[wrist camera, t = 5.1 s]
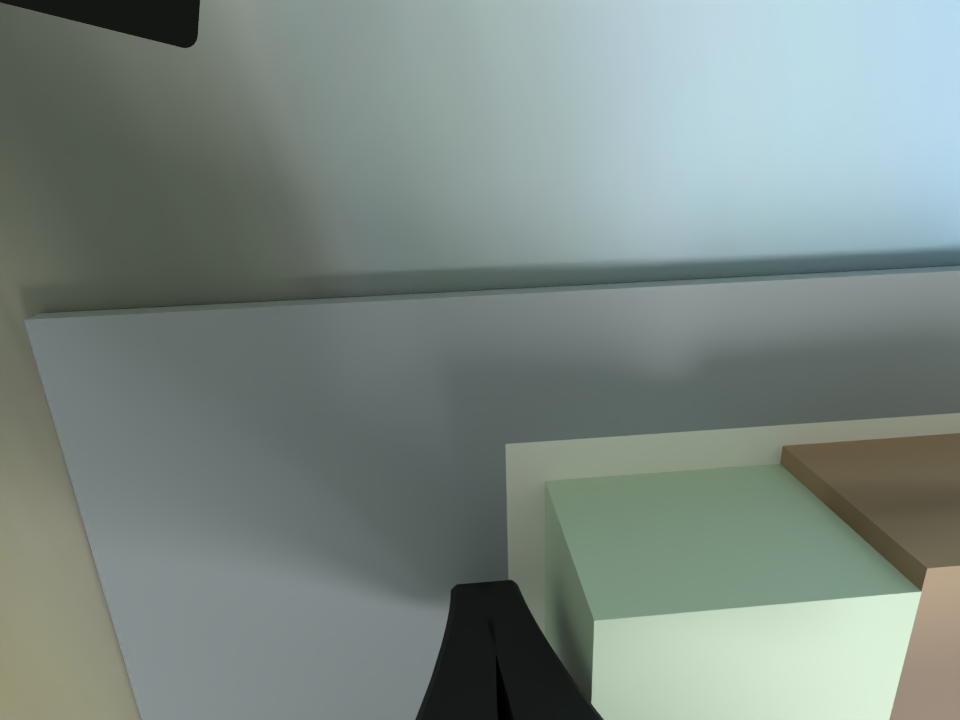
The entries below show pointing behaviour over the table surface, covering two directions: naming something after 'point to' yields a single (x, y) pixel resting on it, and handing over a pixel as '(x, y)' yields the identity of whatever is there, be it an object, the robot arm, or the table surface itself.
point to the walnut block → (903, 544)
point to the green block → (720, 599)
